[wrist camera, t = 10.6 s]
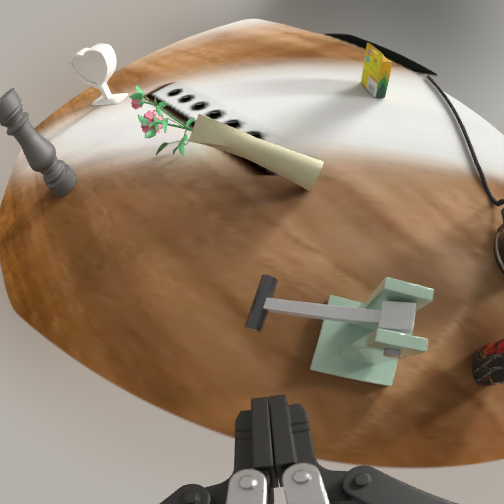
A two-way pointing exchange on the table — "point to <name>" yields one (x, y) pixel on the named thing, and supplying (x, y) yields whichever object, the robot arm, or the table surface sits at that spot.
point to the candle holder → (35, 146)
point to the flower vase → (233, 143)
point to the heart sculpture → (97, 71)
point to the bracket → (369, 337)
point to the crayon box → (376, 72)
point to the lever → (329, 311)
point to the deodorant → (489, 364)
